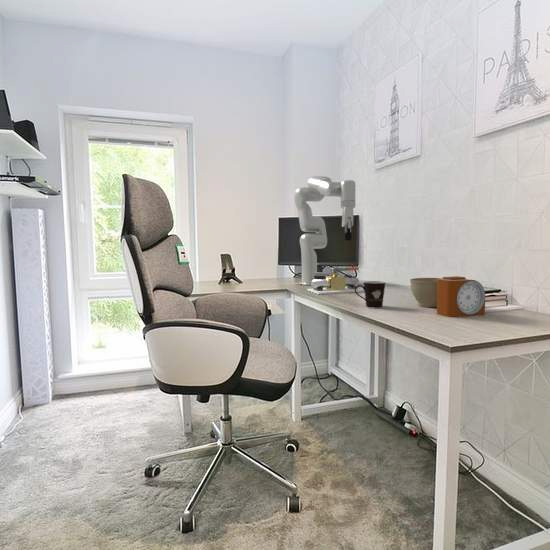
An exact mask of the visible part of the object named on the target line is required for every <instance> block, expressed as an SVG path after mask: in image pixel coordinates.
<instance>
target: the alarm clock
mask: <svg viewBox="0 0 550 550" xmlns="http://www.w3.org/2000/svg"><path fill="white" fill-rule="evenodd" d="M439 278H440V279H438V284H437V307H436V314H437V315H440V316H443V315H444V317H447V316H448V317H449V318H458V317H459V316H461V317H469V316H470V317H472V316H481V315H482V316H485V313H486V291H485V288H484V286H483V284H482V283H481V282H480V281H477V280H475V279H468V278H466V276H458V275H457V276H443V277H439Z"/></svg>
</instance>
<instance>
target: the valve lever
mask: <svg viewBox="0 0 550 550" xmlns="http://www.w3.org/2000/svg"><path fill="white" fill-rule="evenodd" d="M333 271H337V272H343V271H344V272H345V271H348V272H349V271H359V267H358V266H350V267H349V266H348V267H347V266H346V267H340V268H339V267H331V272H333Z"/></svg>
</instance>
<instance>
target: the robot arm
mask: <svg viewBox="0 0 550 550" xmlns="http://www.w3.org/2000/svg"><path fill="white" fill-rule="evenodd" d="M307 186H308V187H307ZM307 186H304V187H298V188H297V189H296V190H295V192H294V204H295V206H296V209H297V214H298V222H299V227H300V230H301V231H302V232H304V234H302V235H301V236H300V237H299V246H300V253H301V255H300V256H301V281H299V282H298V283H299V285H300V284H302V285H303V286H311V281H312V280H315V279H314V275H315V273H316V272H318V256H317V253H316V249H318V250H321V249H324V248H326V247H327V246H328V236H327V229H326V222H325V220H324V219H323V218H322V217H321V216H313V211H312V208H311V206H310V205H309V203H307V202H313V203H314V202H315V203H316V202H321V201H322V200H323V199H324V198H325V197H338V198H340V209H342V212H341V227H342V228H343V227H344V241H352V227H353V226H354V209H355V208H356V181H355V180H353V179H351V180H350V179H346V180H342V181H341V182H340V181H338V182H337V181H332V179H331V178H330V177H328V176H323V175H321V176H320V175H314V176H311V177H309V178H308V180H307ZM302 285H301V286H302Z"/></svg>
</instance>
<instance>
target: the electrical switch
mask: <svg viewBox="0 0 550 550" xmlns="http://www.w3.org/2000/svg"><path fill="white" fill-rule="evenodd" d="M326 276H331V273H330V272H318V271H317V272H316V273H315V275H314V279H315V280H320V279H325V278H326Z"/></svg>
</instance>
